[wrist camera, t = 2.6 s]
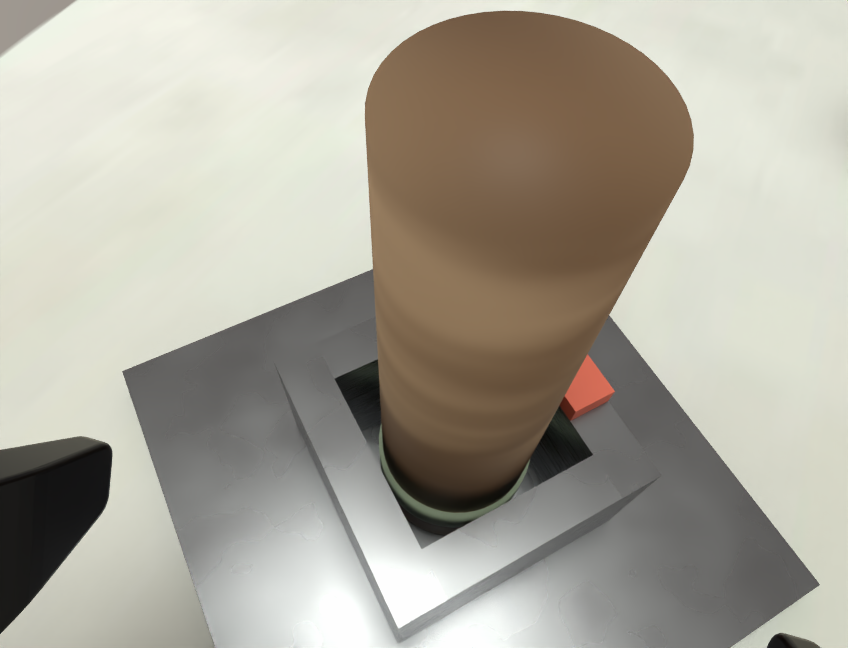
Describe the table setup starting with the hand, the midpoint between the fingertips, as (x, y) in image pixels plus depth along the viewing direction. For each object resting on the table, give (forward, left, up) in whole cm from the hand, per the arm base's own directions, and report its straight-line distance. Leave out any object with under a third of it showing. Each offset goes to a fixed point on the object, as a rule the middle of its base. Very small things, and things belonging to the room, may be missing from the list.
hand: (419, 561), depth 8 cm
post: (+3, +4, -10) cm, 12 cm away
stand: (+3, +4, -12) cm, 13 cm away
